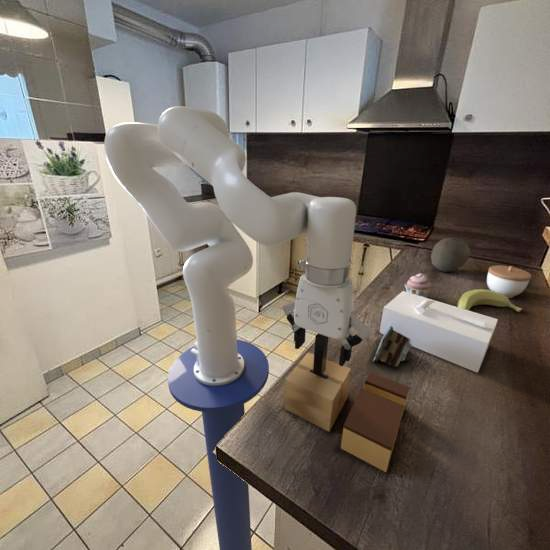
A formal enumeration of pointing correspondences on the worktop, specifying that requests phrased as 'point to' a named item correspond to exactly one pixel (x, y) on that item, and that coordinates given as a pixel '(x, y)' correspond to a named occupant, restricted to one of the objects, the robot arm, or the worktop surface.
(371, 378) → the cake slice
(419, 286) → the cupcake
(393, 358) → the chocolate cake
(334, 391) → the knife block
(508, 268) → the lidded bowl
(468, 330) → the tissue box
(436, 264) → the cantaloupe
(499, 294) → the banana
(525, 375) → the worktop surface
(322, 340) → the knife
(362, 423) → the loaf cake
